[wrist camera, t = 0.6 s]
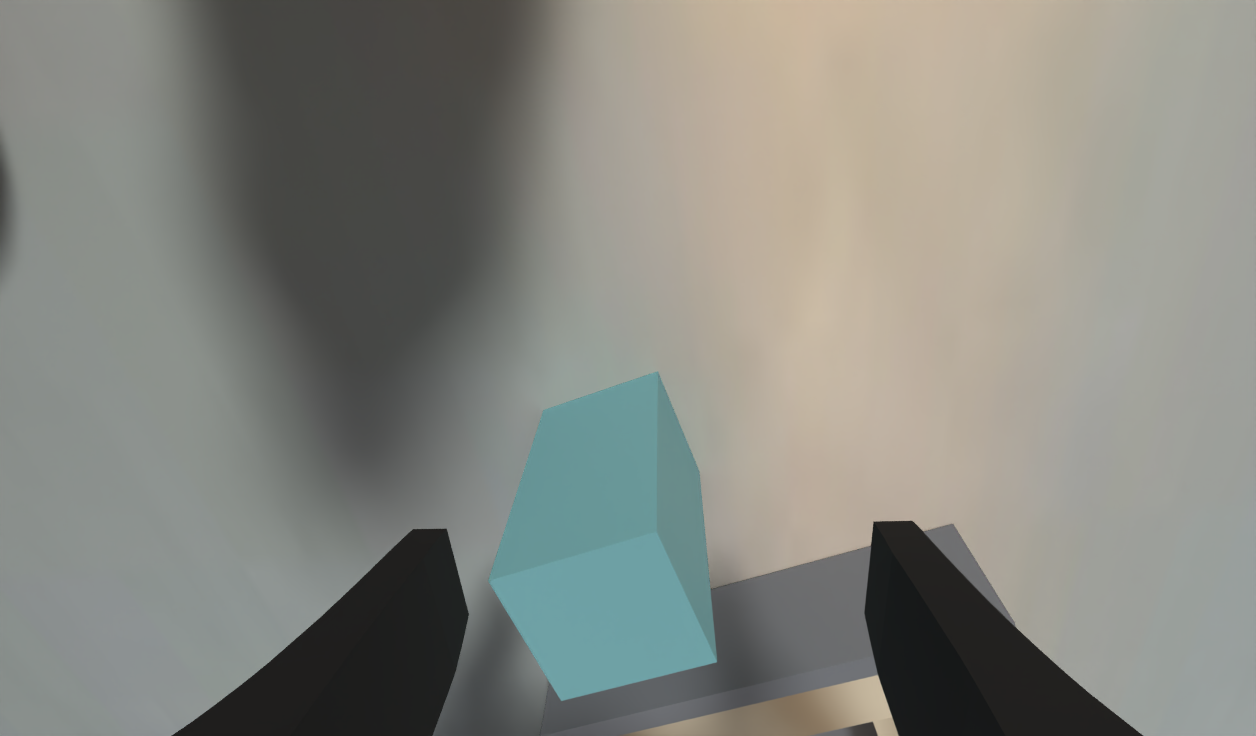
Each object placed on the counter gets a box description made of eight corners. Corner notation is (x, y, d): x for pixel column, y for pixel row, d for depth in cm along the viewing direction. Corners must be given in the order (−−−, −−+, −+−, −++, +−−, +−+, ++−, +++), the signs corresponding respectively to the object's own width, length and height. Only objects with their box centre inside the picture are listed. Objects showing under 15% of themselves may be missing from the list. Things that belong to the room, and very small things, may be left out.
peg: (591, 504, 24) (561, 701, 17) (543, 410, 22) (488, 580, 15) (699, 471, 23) (717, 662, 16) (657, 371, 22) (656, 531, 14)
